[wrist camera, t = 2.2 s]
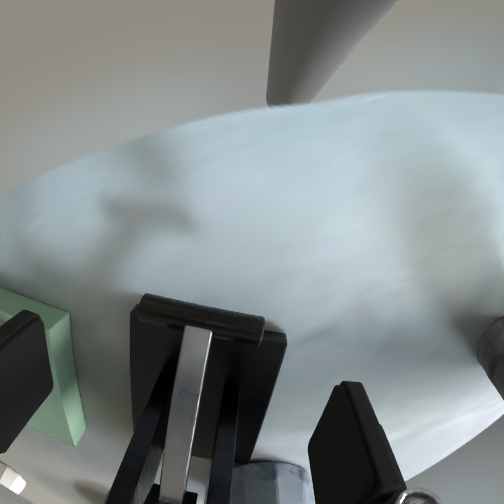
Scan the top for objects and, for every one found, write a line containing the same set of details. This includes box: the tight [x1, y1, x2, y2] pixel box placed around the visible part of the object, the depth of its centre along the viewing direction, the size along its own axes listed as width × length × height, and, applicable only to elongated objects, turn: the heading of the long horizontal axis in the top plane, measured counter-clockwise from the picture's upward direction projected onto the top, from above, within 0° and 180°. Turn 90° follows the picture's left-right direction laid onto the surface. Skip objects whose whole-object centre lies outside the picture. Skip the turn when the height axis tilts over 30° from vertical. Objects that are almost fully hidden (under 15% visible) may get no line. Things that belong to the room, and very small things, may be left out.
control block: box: [0, 287, 87, 447], centre depth 18 cm, size 12×9×4 cm
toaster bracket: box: [104, 304, 287, 504], centre depth 14 cm, size 12×9×12 cm
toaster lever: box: [138, 293, 265, 504], centre depth 11 cm, size 12×5×2 cm
